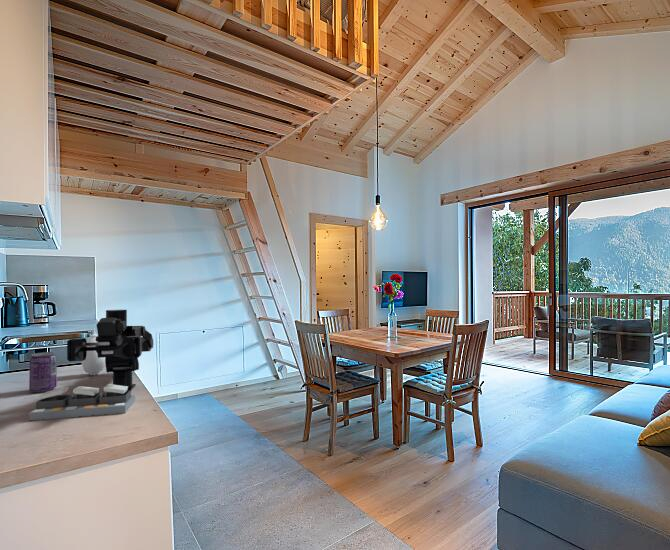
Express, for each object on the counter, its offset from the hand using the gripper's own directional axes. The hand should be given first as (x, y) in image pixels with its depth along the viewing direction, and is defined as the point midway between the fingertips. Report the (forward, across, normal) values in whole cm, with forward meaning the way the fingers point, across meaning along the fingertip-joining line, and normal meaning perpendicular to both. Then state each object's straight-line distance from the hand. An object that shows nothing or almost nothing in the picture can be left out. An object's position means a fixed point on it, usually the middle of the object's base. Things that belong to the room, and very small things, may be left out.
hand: (94, 354), depth 102 cm
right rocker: (-5, +4, +12) cm, 13 cm away
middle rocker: (-5, -4, +12) cm, 13 cm away
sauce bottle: (-48, -16, +17) cm, 54 cm away
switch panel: (-5, -4, +17) cm, 18 cm away
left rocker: (-5, -12, +12) cm, 17 cm away
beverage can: (-30, -25, +17) cm, 43 cm away
